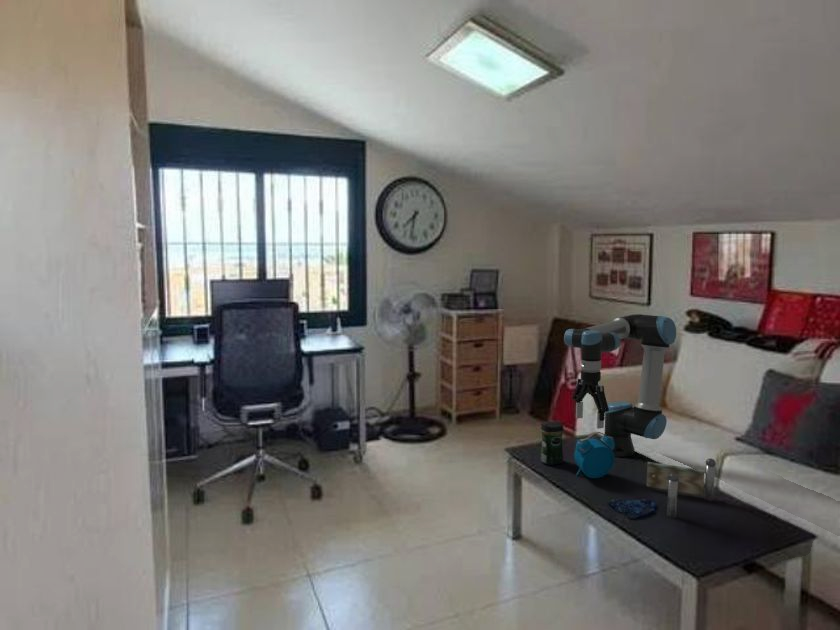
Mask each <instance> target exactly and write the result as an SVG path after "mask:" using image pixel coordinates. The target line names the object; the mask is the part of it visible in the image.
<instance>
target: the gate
mask: <svg viewBox="0 0 840 630" xmlns="http://www.w3.org/2000/svg"><path fill="white" fill-rule="evenodd" d="M646 465H647V466H646V469H647V471H646V487H649V488H655V489H660V490H667V491H668V483H669V479H668V476H669V474H670V473H676V474H677V475H678V477H679V480H678V489H677V493H678V492H679V493H685V494H692V495H696V496H704V488H705V470H704V469H699V468H691V467H687V466H686V467H685V466H679V465H671V464H665V463H659V462H652V461H647V464H646Z"/></svg>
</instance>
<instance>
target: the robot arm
mask: <svg viewBox="0 0 840 630" xmlns="http://www.w3.org/2000/svg"><path fill="white" fill-rule="evenodd" d="M622 339H632V340H636V341H637V340H638V341H640V342H641V343H640V345H641V347H642V348H643V356H642V357H643V358H642V366H641V374H640V381H639V382H640V383H639V384H640V385H639V391H638V392H639V394H638V401H637V403H635V404H634V407H633V403H632V402H629V401H612V402H608V401H607V398H606V393H605V386H604V385H599V382H600V381H601V379H602V378H601V375H602V373H601V370H602V354H604V353H611V352H614V351H615V350H617V349H618V348H619V347H620V346H621V340H622ZM676 339H677V327H676V324H675V322H674V320H673V319H672V318H670V317H669V316H663V315H652V314H640V313H639V314H638V313H637V314H629V315H624V316H619V317H617V318H614V319H613V320H612V321H610V322H609V321H608V322H606V323H602V324H601V323H600V324H597V325H593V326H588V327H585V328H580V329H579V328H578V329H576V328H568V329H567V330H566V331H565V332H564V336H563V341H564V344H565V345H566V346H568V347H570V348H571V347H572V348H577V349H581V353H580V355H581V357H580V369H581V370H580V378H578V379H577V381H576V386H575V389H574V392H573V395H572V400H574V402H575V419H583V417H584V416H583V415H584V402H583V399H584V398H585V397H586V395H587V394H588V395H590V397H591V398H592V399H593V401H594V403H595V406H596V409H597V412H596V429H597V430H599V429H600V430H601V429H604V432H603V434H605V435H606V436H608V437H613V441H614V443H615V446H614V449H613V450H612V449H611V448H610V447H609V446H608V445H606V444H605V443H604V442H603V441H602V440H601V442H602V443H603V444H604V445H606V446H607V447H608V448H609V449H611V450H612V452H613V454H614V457H619V458H625V457H626V458H627V457H632V456H633V455H634V454H635V447H634V442H633V438H632V435H635V436H639V437H642V438H645V439H649V440H657V439H659V438H660V437H661V436H662V435H663V433H664V432H665V430H666V428H667V427H666V426H667V421H668V420H667V417H666V415H665V414H664V413H663V408H662V407H661V406H660V398H661V392H662V391H661V389H662V381H663V380H662V379H663V372H664V364H665V363H664V362H665V354H666V353H665V352H666V351H667V350H669V349H670V345H672V344H674V343H675V341H676ZM602 437H605V436H604V435H603V436H602Z"/></svg>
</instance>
